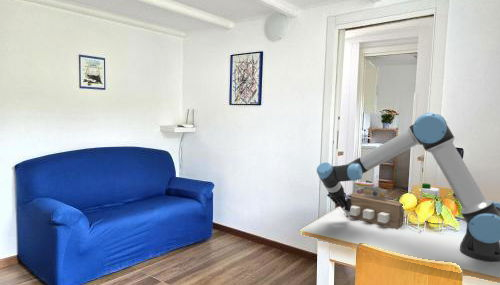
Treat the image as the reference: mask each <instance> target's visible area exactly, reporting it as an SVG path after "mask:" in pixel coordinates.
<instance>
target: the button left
mask: <svg viewBox="0 0 500 285" xmlns="http://www.w3.org/2000/svg"><path fill="white" fill-rule="evenodd" d="M350 211H351V213H350V215H354V216H357V215H359V214H361V206H357V205H353V206H351V208H350Z"/></svg>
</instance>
